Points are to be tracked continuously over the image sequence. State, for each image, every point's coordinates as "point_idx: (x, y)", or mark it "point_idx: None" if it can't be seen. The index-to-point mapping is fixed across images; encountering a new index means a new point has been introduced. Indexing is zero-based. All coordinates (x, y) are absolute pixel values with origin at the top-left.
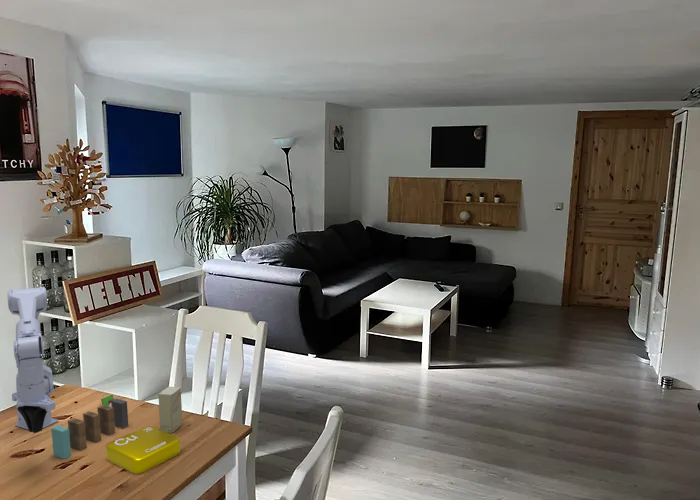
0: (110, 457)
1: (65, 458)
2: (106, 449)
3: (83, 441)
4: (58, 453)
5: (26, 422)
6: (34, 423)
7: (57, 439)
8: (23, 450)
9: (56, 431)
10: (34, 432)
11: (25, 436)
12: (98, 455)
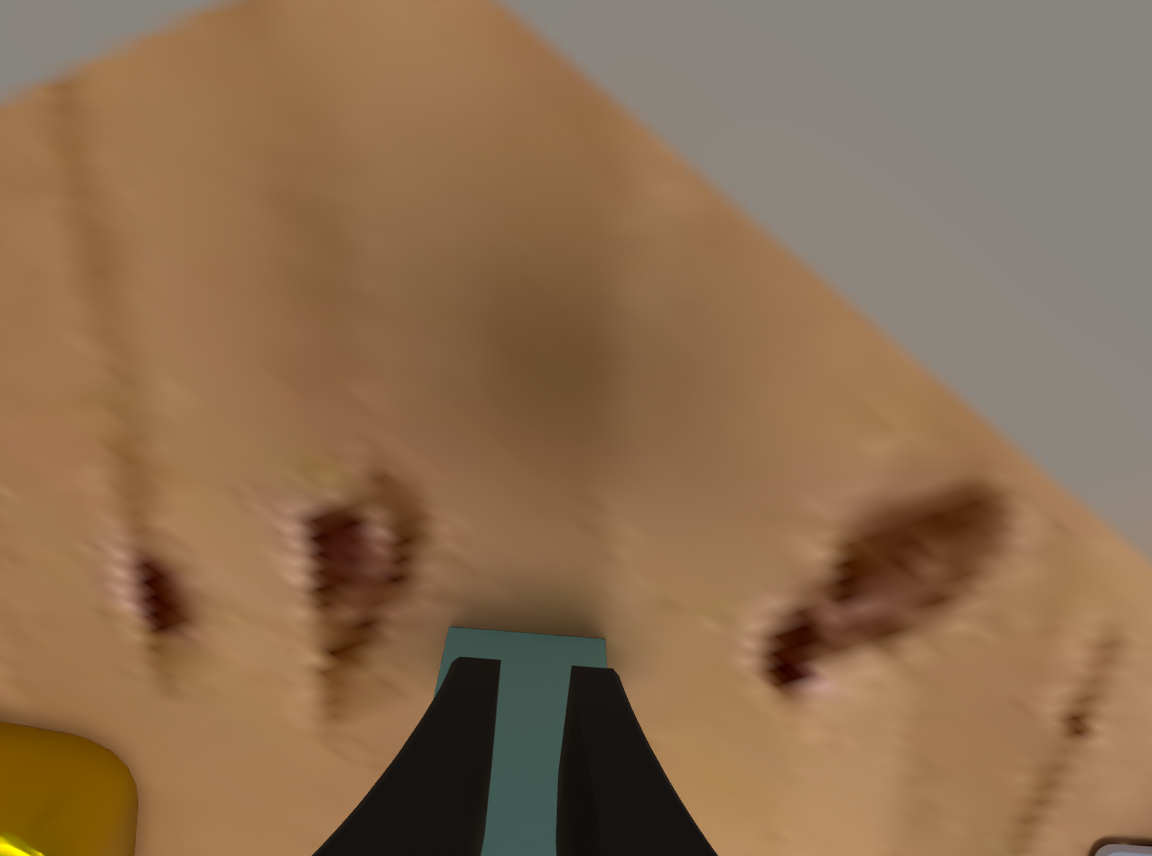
0: (7, 758)
1: (448, 636)
2: (55, 822)
3: None
4: (529, 656)
5: (636, 786)
6: (367, 803)
7: (519, 767)
8: (956, 605)
9: (521, 852)
10: (456, 663)
11: (1132, 771)
12: (226, 762)
